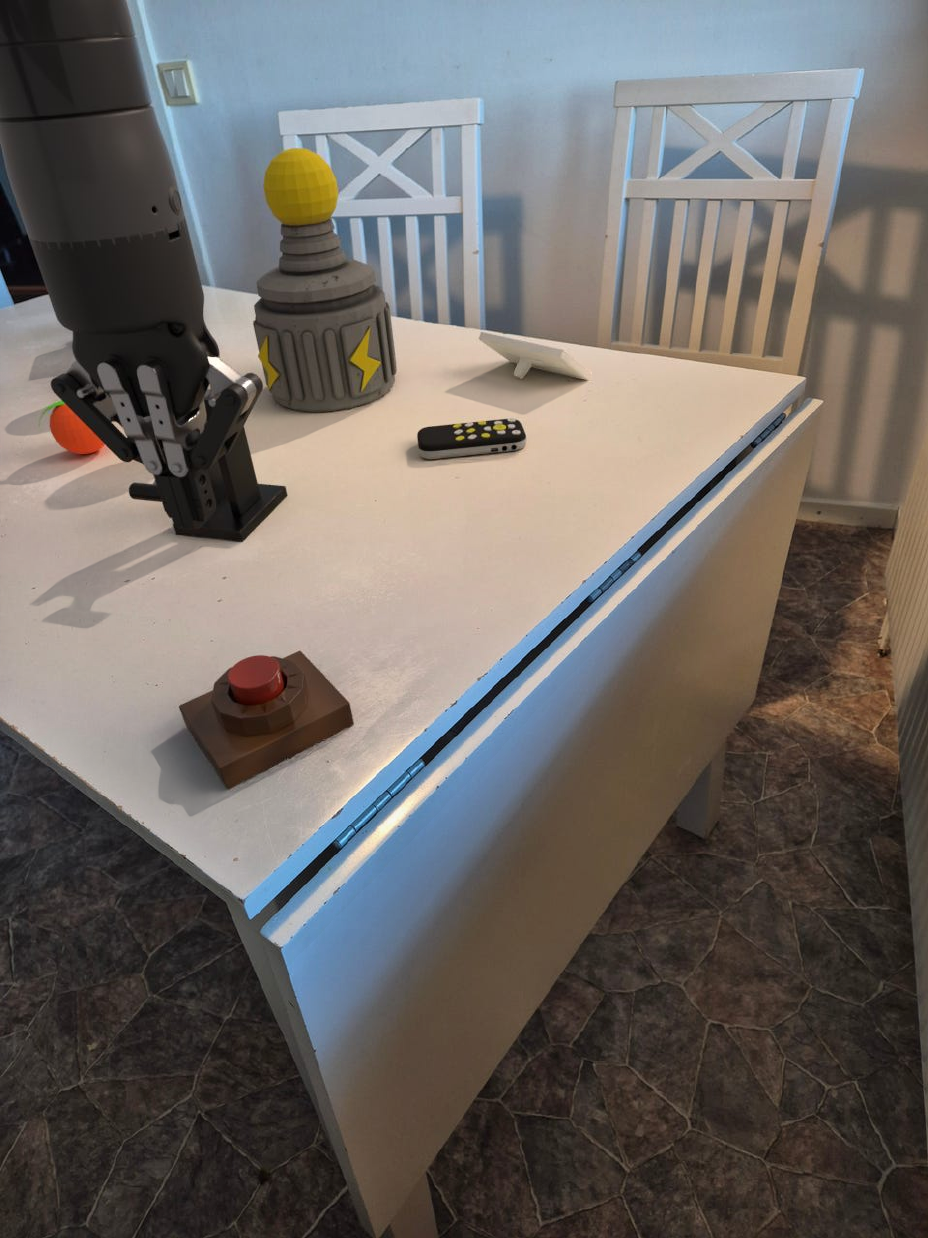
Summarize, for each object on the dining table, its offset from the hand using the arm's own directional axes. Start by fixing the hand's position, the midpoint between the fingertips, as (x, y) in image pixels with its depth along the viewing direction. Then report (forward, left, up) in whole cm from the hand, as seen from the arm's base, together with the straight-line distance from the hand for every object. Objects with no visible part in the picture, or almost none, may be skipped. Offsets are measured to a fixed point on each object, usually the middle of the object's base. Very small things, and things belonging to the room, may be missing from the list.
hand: (195, 522), depth 51 cm
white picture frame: (+61, +40, -17) cm, 75 cm away
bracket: (+12, +32, -17) cm, 38 cm away
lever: (+8, +29, -8) cm, 31 cm away
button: (+1, -1, -13) cm, 14 cm away
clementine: (+4, +61, -17) cm, 63 cm away
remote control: (+41, +28, -17) cm, 52 cm away
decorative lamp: (+38, +57, -17) cm, 70 cm away
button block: (+1, -1, -17) cm, 17 cm away
